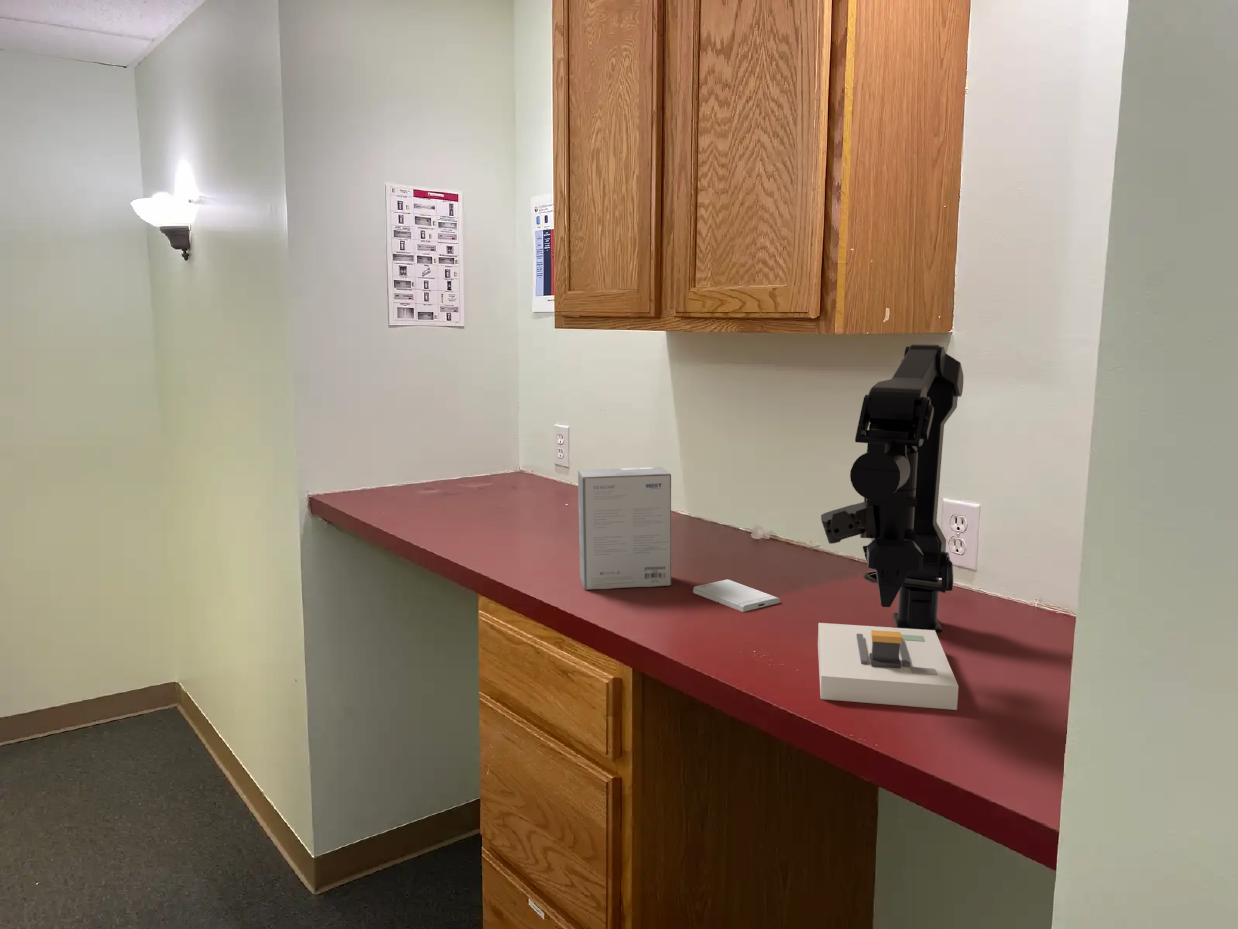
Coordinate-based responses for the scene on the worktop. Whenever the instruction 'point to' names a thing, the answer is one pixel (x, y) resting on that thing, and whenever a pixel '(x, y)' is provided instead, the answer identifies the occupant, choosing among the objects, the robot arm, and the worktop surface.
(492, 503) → the worktop surface
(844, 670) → the breaker box
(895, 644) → the breaker toggle
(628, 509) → the hard drive box
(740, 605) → the hard drive
